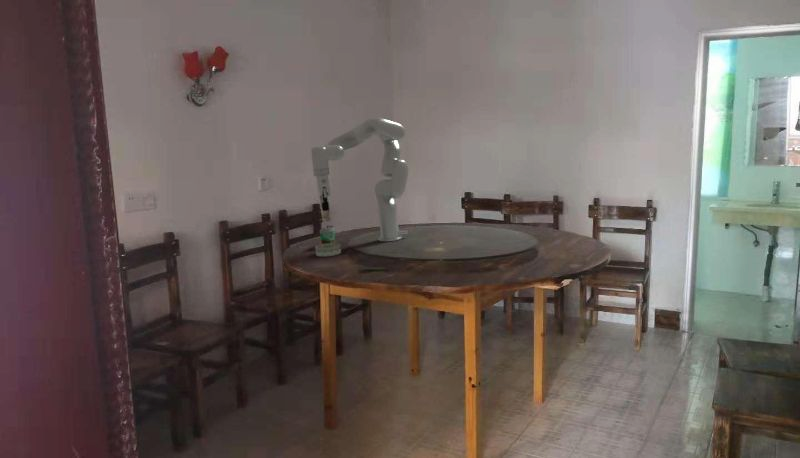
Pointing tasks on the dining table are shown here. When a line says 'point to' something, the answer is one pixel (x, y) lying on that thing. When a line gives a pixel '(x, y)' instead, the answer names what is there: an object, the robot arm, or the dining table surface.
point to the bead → (328, 249)
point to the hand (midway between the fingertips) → (325, 209)
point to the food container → (327, 235)
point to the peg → (324, 213)
